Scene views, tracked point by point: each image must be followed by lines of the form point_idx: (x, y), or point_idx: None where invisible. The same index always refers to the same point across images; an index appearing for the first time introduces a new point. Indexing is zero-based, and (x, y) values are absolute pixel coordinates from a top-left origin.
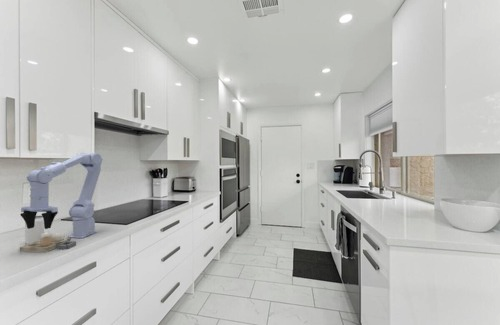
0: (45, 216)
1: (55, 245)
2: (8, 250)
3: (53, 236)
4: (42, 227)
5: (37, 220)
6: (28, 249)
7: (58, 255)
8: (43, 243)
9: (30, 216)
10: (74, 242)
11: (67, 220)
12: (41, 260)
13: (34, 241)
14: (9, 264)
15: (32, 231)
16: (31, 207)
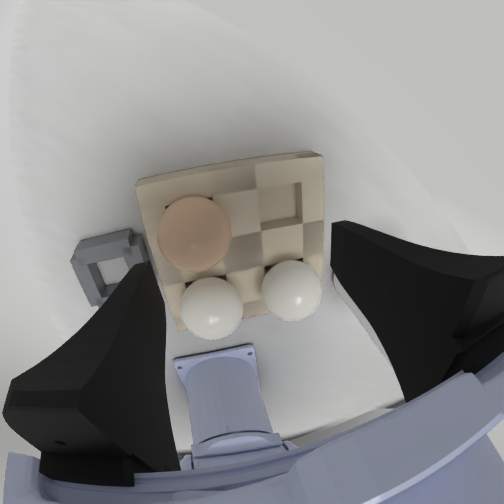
0: (49, 369)
1: (151, 243)
2: (379, 156)
3: (216, 293)
4: (368, 330)
5: None
6: (261, 160)
7: (30, 172)
8: (174, 202)
9: (413, 321)
10: (87, 297)
11: (403, 399)
12: (44, 97)
13: None
14: (162, 9)
15: None
16: (462, 490)
